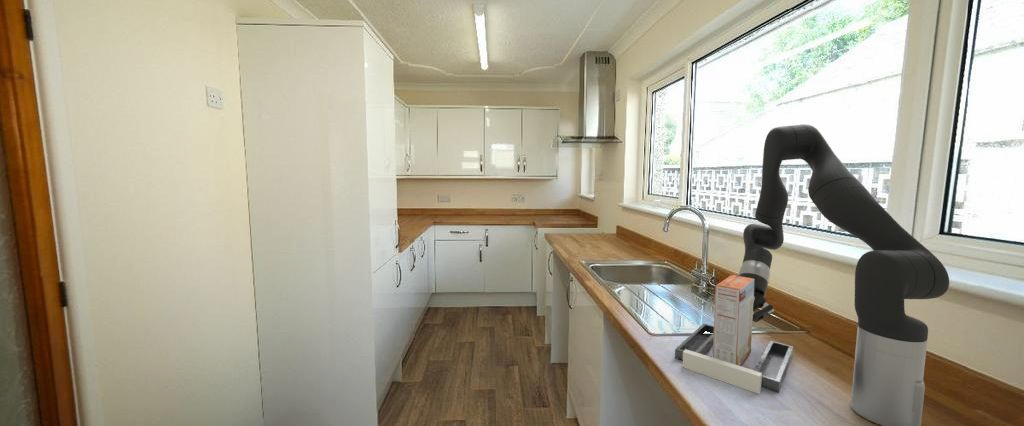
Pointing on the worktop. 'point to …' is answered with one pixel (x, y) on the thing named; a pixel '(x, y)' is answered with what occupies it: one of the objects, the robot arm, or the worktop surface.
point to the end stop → (722, 371)
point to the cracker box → (733, 319)
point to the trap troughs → (769, 364)
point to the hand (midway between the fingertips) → (740, 331)
